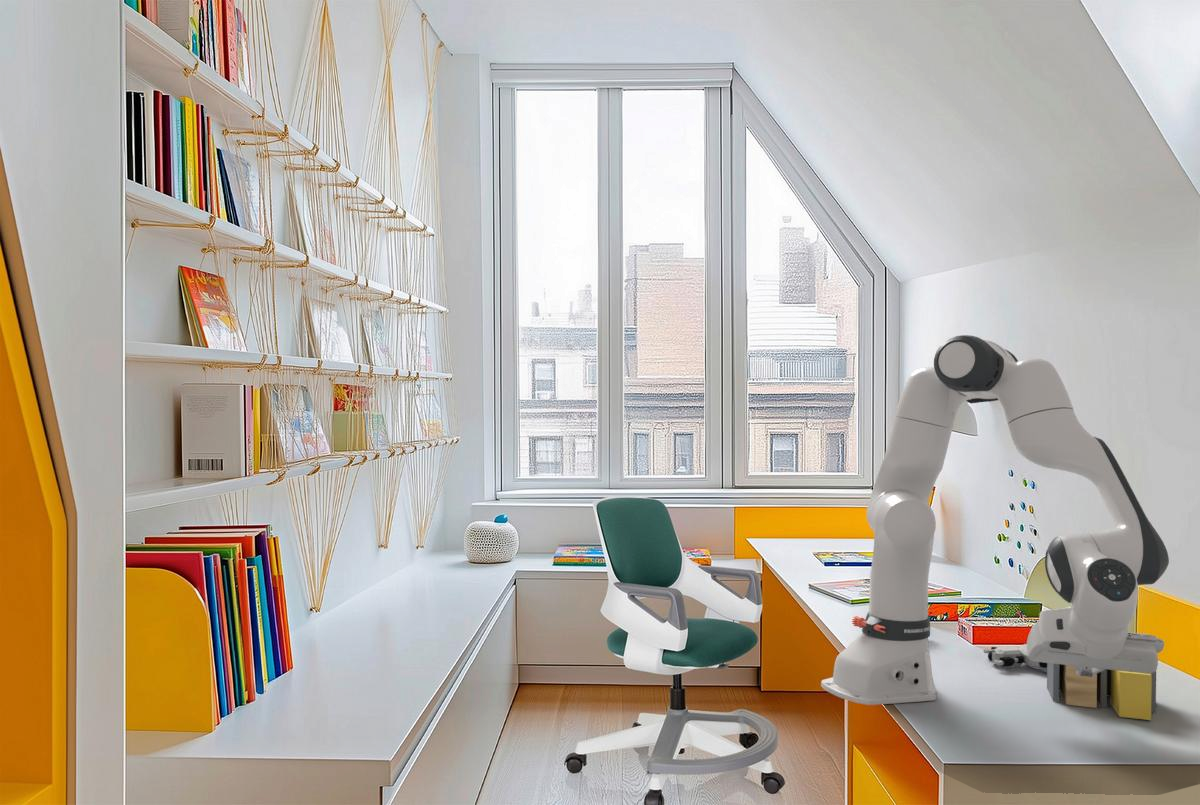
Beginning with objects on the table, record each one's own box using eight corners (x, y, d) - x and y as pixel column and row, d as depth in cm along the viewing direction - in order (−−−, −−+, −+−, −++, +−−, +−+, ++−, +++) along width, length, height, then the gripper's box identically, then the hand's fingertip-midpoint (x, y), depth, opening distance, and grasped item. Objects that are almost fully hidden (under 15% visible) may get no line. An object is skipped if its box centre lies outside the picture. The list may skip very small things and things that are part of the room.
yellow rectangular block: (1151, 720, 161) (1151, 675, 161) (1119, 716, 163) (1119, 672, 163) (1140, 706, 169) (1141, 663, 169) (1110, 703, 171) (1111, 660, 171)
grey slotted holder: (1155, 712, 166) (1156, 655, 166) (1053, 701, 172) (1053, 646, 172) (1144, 698, 175) (1145, 643, 175) (1046, 687, 181) (1047, 635, 181)
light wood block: (1096, 707, 168) (1097, 664, 168) (1066, 704, 169) (1066, 661, 169) (1089, 695, 175) (1089, 653, 175) (1060, 691, 177) (1060, 650, 177)
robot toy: (996, 677, 190) (1072, 677, 188) (994, 656, 190) (1071, 655, 188) (981, 661, 202) (1053, 660, 200) (980, 641, 203) (1052, 640, 200)
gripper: (1163, 621, 153) (1148, 664, 162) (1030, 609, 160) (1023, 651, 169) (1170, 654, 149) (1153, 696, 158) (1033, 640, 156) (1025, 681, 165)
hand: (1085, 673), depth 164 cm, fingers closed
